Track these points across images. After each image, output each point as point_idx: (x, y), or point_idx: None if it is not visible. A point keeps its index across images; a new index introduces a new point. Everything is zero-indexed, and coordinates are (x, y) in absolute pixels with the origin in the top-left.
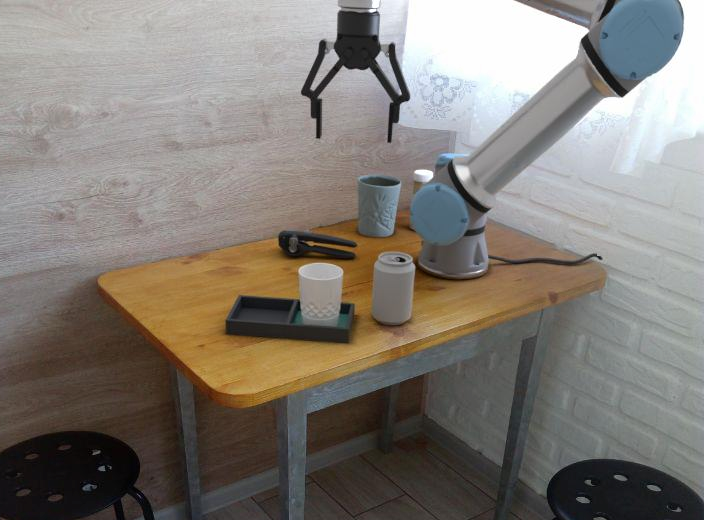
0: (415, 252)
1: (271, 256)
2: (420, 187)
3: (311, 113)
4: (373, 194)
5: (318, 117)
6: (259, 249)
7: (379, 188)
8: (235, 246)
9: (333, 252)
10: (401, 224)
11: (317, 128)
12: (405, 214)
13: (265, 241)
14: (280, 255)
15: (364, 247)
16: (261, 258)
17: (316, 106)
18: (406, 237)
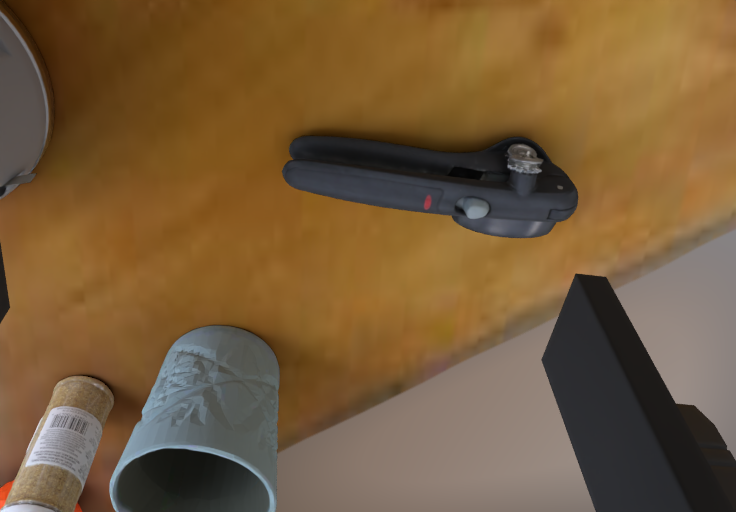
0: (76, 211)
1: (586, 155)
2: (43, 490)
3: (714, 438)
4: (217, 425)
5: (647, 389)
6: (615, 213)
7: (191, 440)
8: (689, 233)
9: (372, 147)
10: None
11: (622, 323)
12: None
13: None
14: None
15: (258, 245)
16: (624, 135)
17: (710, 470)
18: (119, 331)
